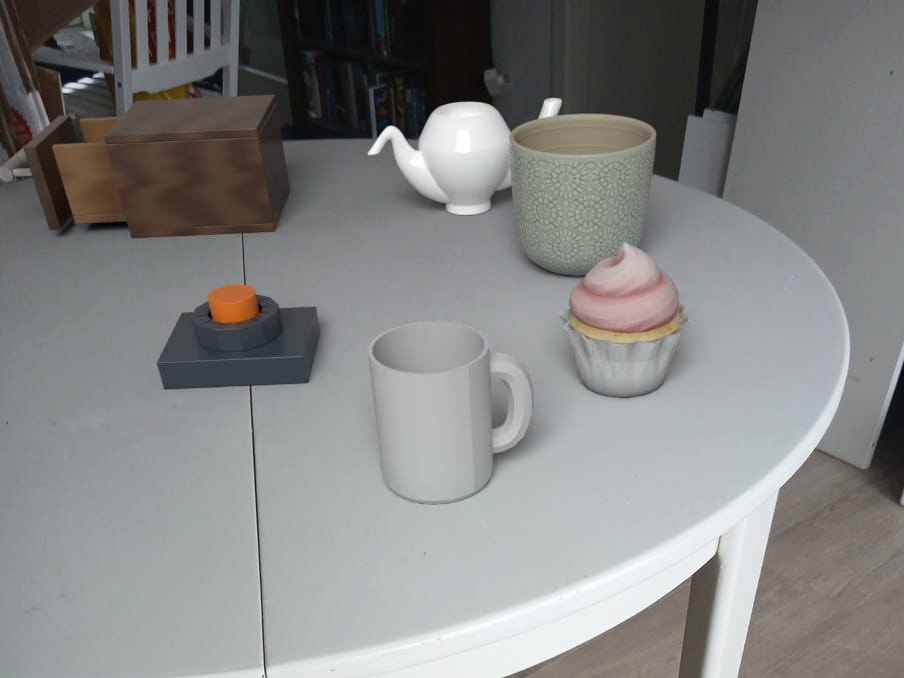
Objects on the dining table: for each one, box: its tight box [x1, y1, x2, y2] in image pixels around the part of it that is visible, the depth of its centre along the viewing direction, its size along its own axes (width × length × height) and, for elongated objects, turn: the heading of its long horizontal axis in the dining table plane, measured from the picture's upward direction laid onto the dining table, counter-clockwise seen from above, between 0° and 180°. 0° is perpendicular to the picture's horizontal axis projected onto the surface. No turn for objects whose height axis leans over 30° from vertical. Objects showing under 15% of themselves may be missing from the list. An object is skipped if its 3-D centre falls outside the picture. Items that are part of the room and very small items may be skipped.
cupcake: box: [558, 243, 692, 398], centre depth 70 cm, size 9×9×10 cm
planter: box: [509, 113, 657, 277], centre depth 87 cm, size 12×12×11 cm
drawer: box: [0, 114, 127, 231], centre depth 101 cm, size 18×11×8 cm, turn 91°
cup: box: [367, 320, 534, 505], centre depth 61 cm, size 7×10×9 cm
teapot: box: [366, 97, 563, 216], centre depth 99 cm, size 10×20×9 cm, turn 105°
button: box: [207, 284, 259, 323], centre depth 75 cm, size 4×4×2 cm
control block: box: [156, 293, 321, 390], centre depth 77 cm, size 11×9×4 cm
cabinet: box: [104, 94, 291, 239], centre depth 101 cm, size 15×13×10 cm
